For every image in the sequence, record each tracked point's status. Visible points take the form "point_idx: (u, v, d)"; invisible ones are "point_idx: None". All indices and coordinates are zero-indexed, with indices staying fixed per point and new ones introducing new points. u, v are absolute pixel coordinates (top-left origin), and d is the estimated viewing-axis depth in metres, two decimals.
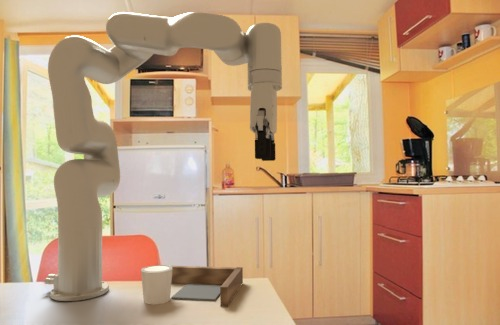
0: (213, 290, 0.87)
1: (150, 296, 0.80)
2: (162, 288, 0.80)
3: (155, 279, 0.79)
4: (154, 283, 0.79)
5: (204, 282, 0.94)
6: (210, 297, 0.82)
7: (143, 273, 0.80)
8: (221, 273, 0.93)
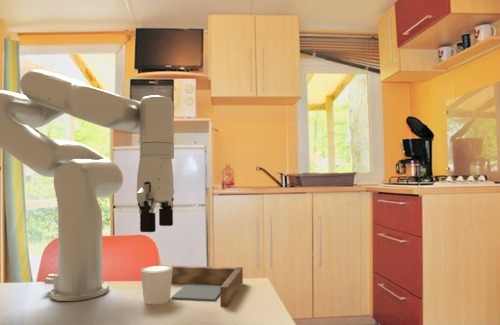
0: (213, 290, 0.87)
1: (150, 296, 0.80)
2: (162, 288, 0.80)
3: (155, 279, 0.79)
4: (154, 283, 0.79)
5: (204, 282, 0.94)
6: (210, 297, 0.82)
7: (143, 273, 0.80)
8: (221, 273, 0.93)
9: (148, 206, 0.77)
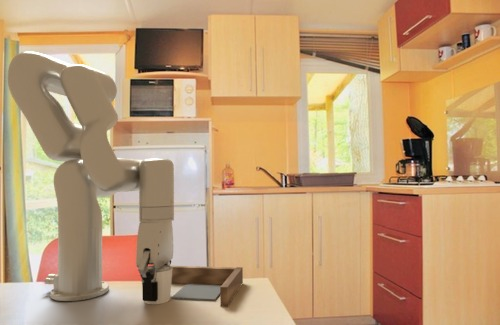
0: (213, 290, 0.87)
1: None
2: (162, 288, 0.80)
3: None
4: None
5: (204, 282, 0.94)
6: (210, 297, 0.82)
7: None
8: (221, 273, 0.93)
9: (150, 278, 0.77)
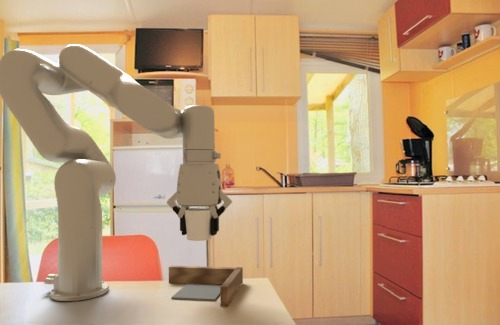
0: (213, 290, 0.87)
1: None
2: (187, 225, 0.86)
3: (185, 216, 0.87)
4: (185, 219, 0.87)
5: (204, 282, 0.94)
6: (210, 297, 0.82)
7: None
8: (221, 273, 0.93)
9: (177, 212, 0.88)
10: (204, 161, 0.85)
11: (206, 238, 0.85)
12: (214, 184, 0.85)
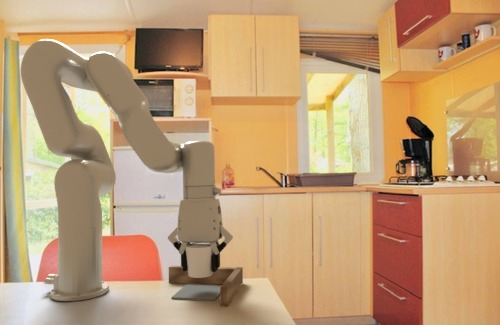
0: (213, 290, 0.87)
1: None
2: (188, 262, 0.85)
3: (186, 252, 0.87)
4: (186, 255, 0.87)
5: (204, 282, 0.94)
6: (210, 297, 0.82)
7: None
8: (221, 273, 0.93)
9: (178, 248, 0.87)
10: (205, 198, 0.84)
11: (208, 275, 0.85)
12: (215, 220, 0.85)
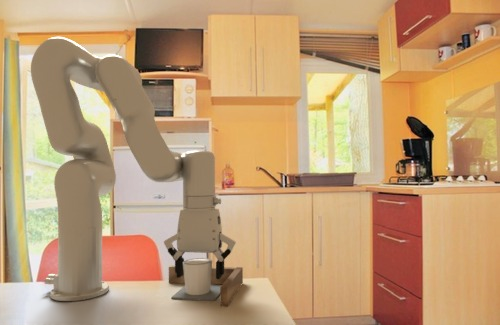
0: (213, 290, 0.87)
1: None
2: (185, 279, 0.85)
3: (184, 269, 0.87)
4: None
5: None
6: (210, 297, 0.82)
7: None
8: None
9: (173, 253, 0.88)
10: (204, 208, 0.84)
11: (205, 292, 0.85)
12: (214, 231, 0.85)
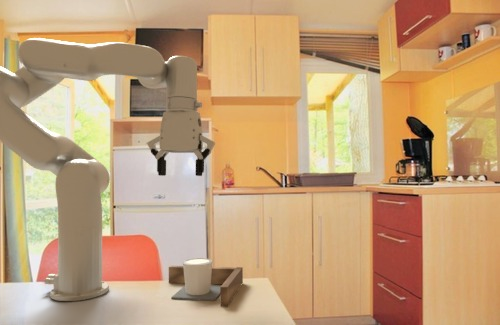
0: (213, 290, 0.87)
1: None
2: (185, 279, 0.85)
3: None
4: None
5: None
6: (210, 297, 0.82)
7: None
8: (221, 273, 0.93)
9: (155, 153, 0.93)
10: (185, 108, 0.90)
11: (205, 292, 0.85)
12: (194, 130, 0.90)
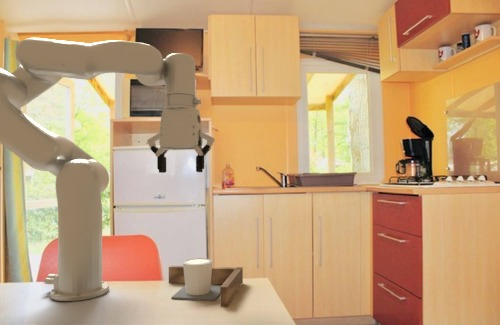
0: (213, 290, 0.87)
1: None
2: (185, 279, 0.85)
3: None
4: None
5: None
6: (210, 297, 0.82)
7: None
8: (221, 273, 0.93)
9: (155, 151, 0.93)
10: (185, 105, 0.90)
11: (205, 292, 0.85)
12: (194, 127, 0.91)
